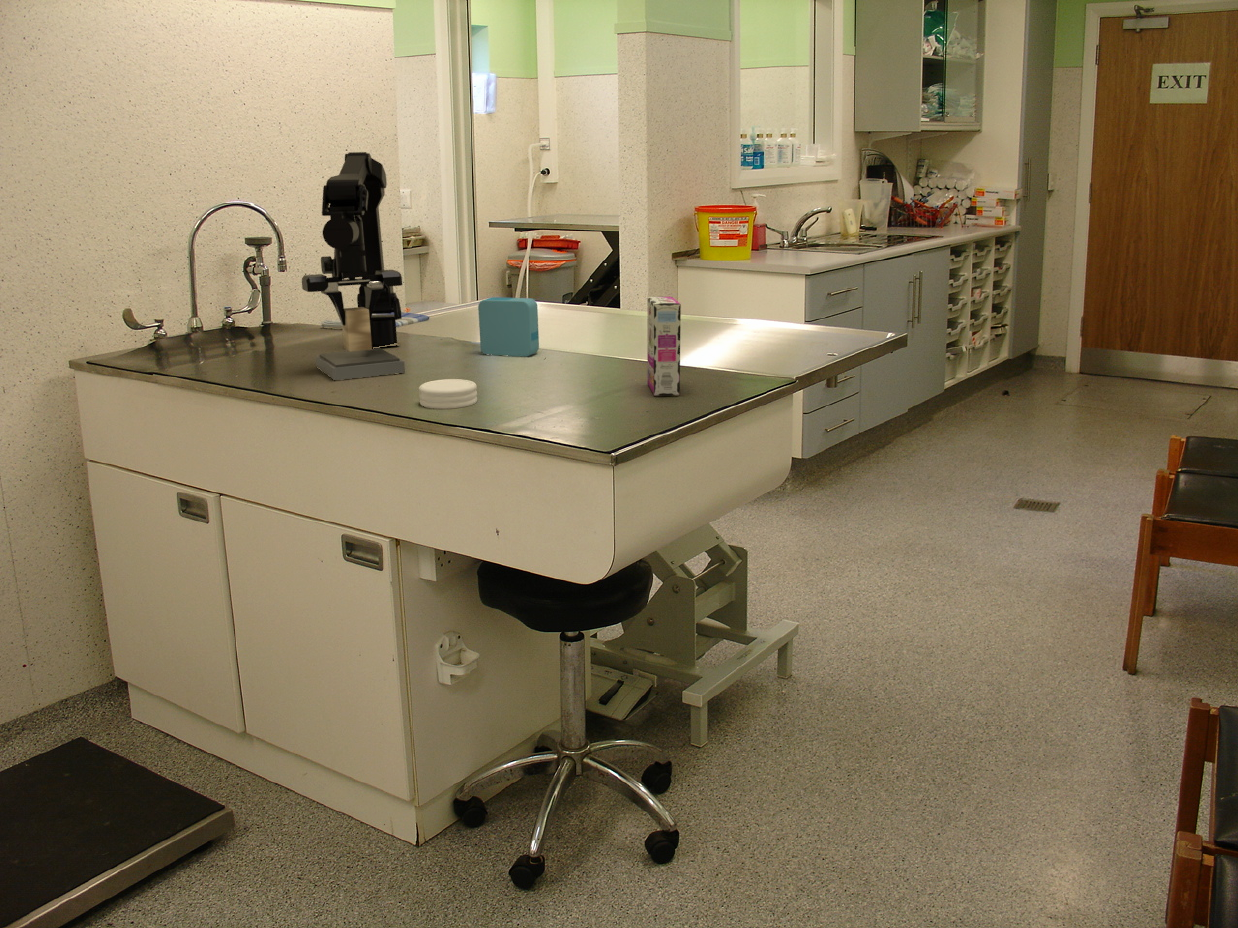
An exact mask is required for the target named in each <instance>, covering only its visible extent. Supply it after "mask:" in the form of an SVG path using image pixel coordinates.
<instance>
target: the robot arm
mask: <svg viewBox="0 0 1238 928" xmlns="http://www.w3.org/2000/svg"><path fill="white" fill-rule="evenodd" d="M387 182H388V181H387V174H386V171H385V168H384V165H383V163H381V162H379V161H377V160H375V159H374V158H373V157H372V156H371V153H369V152H366V151H359V152H358V151H351V152H348V153H345V154H344V163H343V164H342V167H341V169H340V172H339V174H338V175H333V176H330V177H329V178H328V179H327V181H326V182H325V183H326V184H324V185H323V188H322V189H323V190H322V204H321V205H322V206H321V216H323V217H329V216H330V217H329V218H330V219H329V220H328V221H326V222H325V224H324V226H323V229H322V238H323V240H324V242H325V243H326V244H327V245H328V246H329V247H331V248H333V254H334V255H333V256H334V257H332V256H330V255H329V256H321V257H320V265H321V266H320V267H321V268H320V269H321V271H322V273H321V274H320V273H318V274H317V273H315V274H305V275H303V276H302V277H301V289H302V290H303V291H305V292H307V293H316V292H317V293H318V292H320V293H321V294H323V295H325V296H328V298H329V299H330V301H331V303H332V305H333V306H334V308H335V311H336V314H337V316H338V319H340V320H341V323H342V325H345V312H344V307H345V305H344V300H343V299H344V297H343V292H342V291H341V290H339V287H345V286H346V287H347V286H359V285H360V286H359V288H358V293H357V297H356V303H357V307H364V308H366V309H369V318H370V330H371V343H372V347H379V346H385V345H390V344H394V343H398V337H397V334H398V333H397V327H396V320H398V319H402V314H401V312H402V308H401V302H400V299H399V298H398V296H397V293H396V292H394V287H399V286H400V287H401V286H403V277H402V274H401V272H400V271H398V270H395V269H385V264H384V261H385V260H384V253H383V250H384V249H383V241H382V231H381V230H382V229H381V220H380V209H379V208H380V205H381V203H382V201H383V199H384V197H385V195H386V194H385V193H386V192H385V189H387V185H388V183H387ZM330 274H331V277H328V276H327V275H330ZM391 313H394V314H391ZM372 314H387V315H372Z"/></svg>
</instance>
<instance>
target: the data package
mask: <svg viewBox="0 0 1238 928" xmlns="http://www.w3.org/2000/svg"><path fill="white" fill-rule="evenodd" d="M477 308H478V309H477V310H478V324H479V325H478V327H479V343H480V344H479V345H480V351H481V352H482V354H483V355H485V354H489V355H488V356H491V354H492V355H508V356H507V357H514V356H522V357H521V358H527V357H530V356H532V355H534V354H536V353H538V351H539V349H540V340H539V339H540V336H539V315H538V313H539V312H538V310H539V309H538V304H537V301H536V300H535V299H533V298H531V297H529V298H528V297H527V298H526V297H523V298H522V297H495V296H494V297H493V296H492V297H488V298H486V299H482V300H481V301H480V302H479V303H478V306H477Z"/></svg>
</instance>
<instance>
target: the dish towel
mask: <svg viewBox="0 0 1238 928" xmlns="http://www.w3.org/2000/svg"><path fill="white" fill-rule="evenodd" d="M391 314H394V313H391ZM401 314H402V319H398V320H396V328H399V327H403V326H407V325H408V326H409V325H412V324H417V323H422V322H427V321H429V320H430V316H429V315H426V314H421V313H420V314H419V313H414V312H413V313H412V312H405V311H404V312H402V311H401ZM372 315H387V314H372ZM320 324H321V325H320V326H322V327H321V328H323V327H342V323H341V320H340V318H336V319H333V320H331V319H324V320H323V321H321V322H320Z"/></svg>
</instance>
